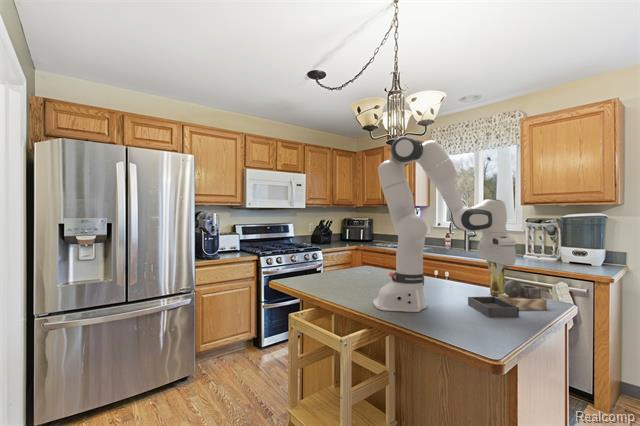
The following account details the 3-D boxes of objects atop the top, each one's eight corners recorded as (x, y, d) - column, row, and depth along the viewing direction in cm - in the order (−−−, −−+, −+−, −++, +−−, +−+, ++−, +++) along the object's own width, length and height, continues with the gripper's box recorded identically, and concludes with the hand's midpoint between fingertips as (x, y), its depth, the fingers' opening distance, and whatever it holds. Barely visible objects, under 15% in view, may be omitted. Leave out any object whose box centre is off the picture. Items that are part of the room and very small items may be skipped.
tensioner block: (512, 310, 127) (512, 283, 127) (497, 302, 137) (497, 277, 137) (546, 309, 128) (546, 282, 127) (529, 302, 138) (529, 277, 137)
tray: (518, 316, 119) (518, 307, 119) (489, 317, 119) (489, 308, 118) (494, 304, 135) (494, 296, 135) (468, 305, 134) (468, 296, 134)
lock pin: (494, 291, 125) (493, 261, 125) (489, 289, 128) (489, 260, 128) (501, 291, 125) (500, 261, 125) (496, 289, 128) (496, 260, 128)
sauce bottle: (506, 297, 145) (506, 254, 145) (492, 296, 147) (492, 254, 146) (501, 293, 152) (501, 253, 152) (487, 293, 153) (487, 252, 153)
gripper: (473, 236, 137) (473, 268, 137) (502, 241, 116) (503, 278, 116) (487, 236, 137) (487, 268, 137) (518, 241, 116) (519, 278, 117)
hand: (494, 272), depth 126 cm, fingers closed on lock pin, 3 cm apart
